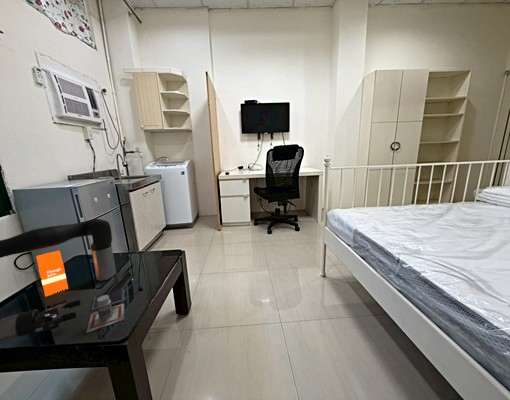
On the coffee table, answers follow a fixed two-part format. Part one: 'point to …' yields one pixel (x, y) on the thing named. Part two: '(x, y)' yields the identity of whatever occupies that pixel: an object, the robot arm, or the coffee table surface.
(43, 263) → the orange juice
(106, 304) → the pill bottle
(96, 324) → the marked board
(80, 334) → the coffee table surface
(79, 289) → the coffee table surface
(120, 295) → the ink pad
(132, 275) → the coffee table surface
